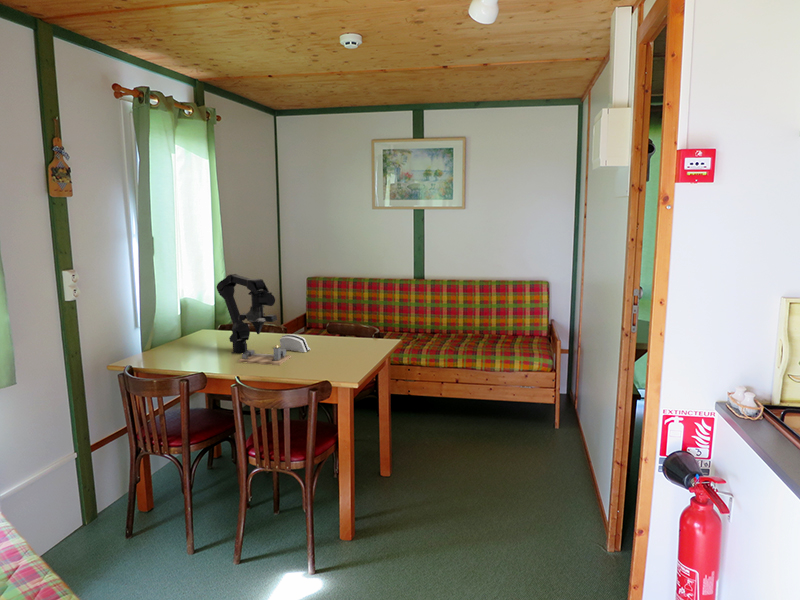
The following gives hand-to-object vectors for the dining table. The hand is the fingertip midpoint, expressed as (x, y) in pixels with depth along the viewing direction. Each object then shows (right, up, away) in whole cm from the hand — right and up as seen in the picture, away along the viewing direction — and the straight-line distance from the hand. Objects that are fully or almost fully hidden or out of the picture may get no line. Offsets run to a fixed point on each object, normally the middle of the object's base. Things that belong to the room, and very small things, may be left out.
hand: (258, 334), depth 288 cm
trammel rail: (+4, -12, -5) cm, 14 cm away
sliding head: (+12, -12, -7) cm, 19 cm away
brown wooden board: (+5, -13, -5) cm, 15 cm away
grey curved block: (+16, -10, +15) cm, 24 cm away
